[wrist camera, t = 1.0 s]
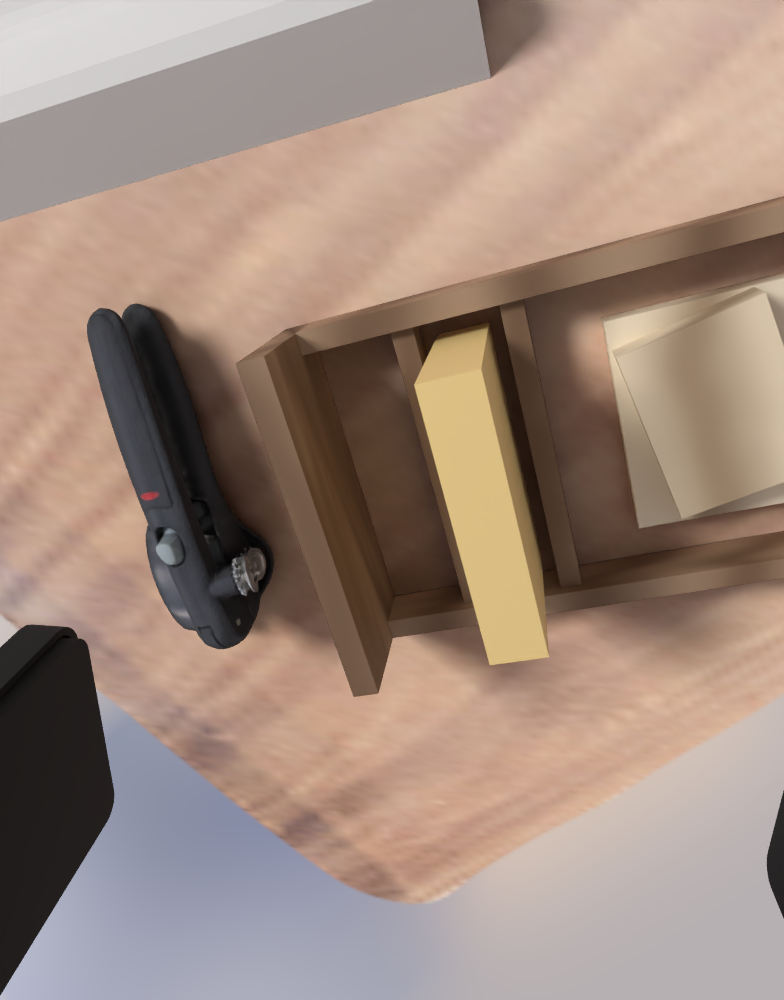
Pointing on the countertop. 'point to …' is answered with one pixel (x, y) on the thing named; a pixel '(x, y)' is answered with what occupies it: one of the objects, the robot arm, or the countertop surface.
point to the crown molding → (204, 81)
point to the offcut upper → (712, 400)
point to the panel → (485, 491)
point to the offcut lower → (641, 462)
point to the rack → (335, 486)
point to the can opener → (177, 482)
